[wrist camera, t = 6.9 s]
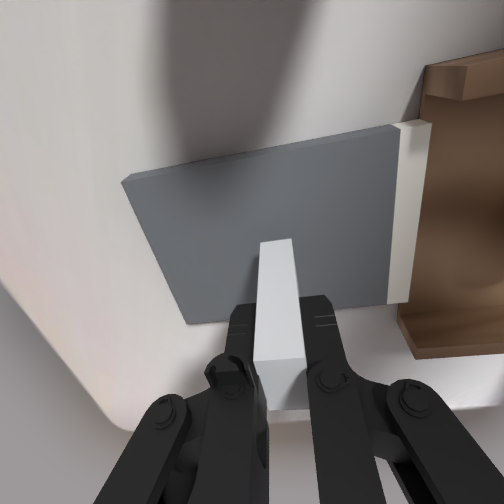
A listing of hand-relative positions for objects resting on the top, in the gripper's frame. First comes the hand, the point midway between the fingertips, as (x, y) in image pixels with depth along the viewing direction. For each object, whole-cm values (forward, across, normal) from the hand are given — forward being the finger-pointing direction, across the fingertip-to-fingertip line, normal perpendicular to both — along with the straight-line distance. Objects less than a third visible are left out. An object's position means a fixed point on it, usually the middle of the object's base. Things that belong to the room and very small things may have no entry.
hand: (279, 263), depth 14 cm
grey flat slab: (+3, 0, 0) cm, 3 cm away
